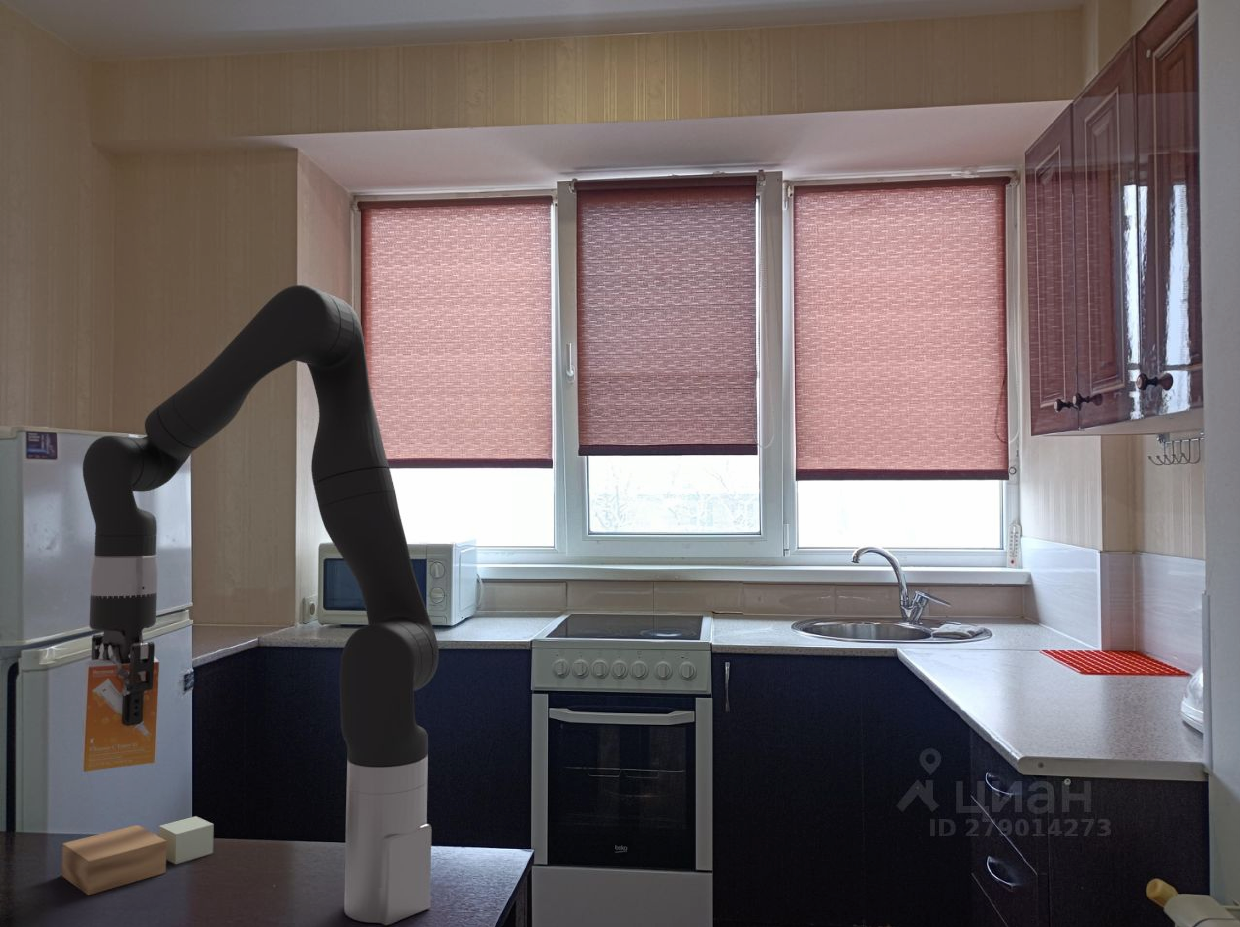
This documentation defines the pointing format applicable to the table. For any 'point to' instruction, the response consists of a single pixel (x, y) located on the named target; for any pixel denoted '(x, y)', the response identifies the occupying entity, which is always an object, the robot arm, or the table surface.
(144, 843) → the base brick
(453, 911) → the table surface
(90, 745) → the small box
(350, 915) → the robot arm
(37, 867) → the table surface
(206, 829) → the brick
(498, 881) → the table surface
